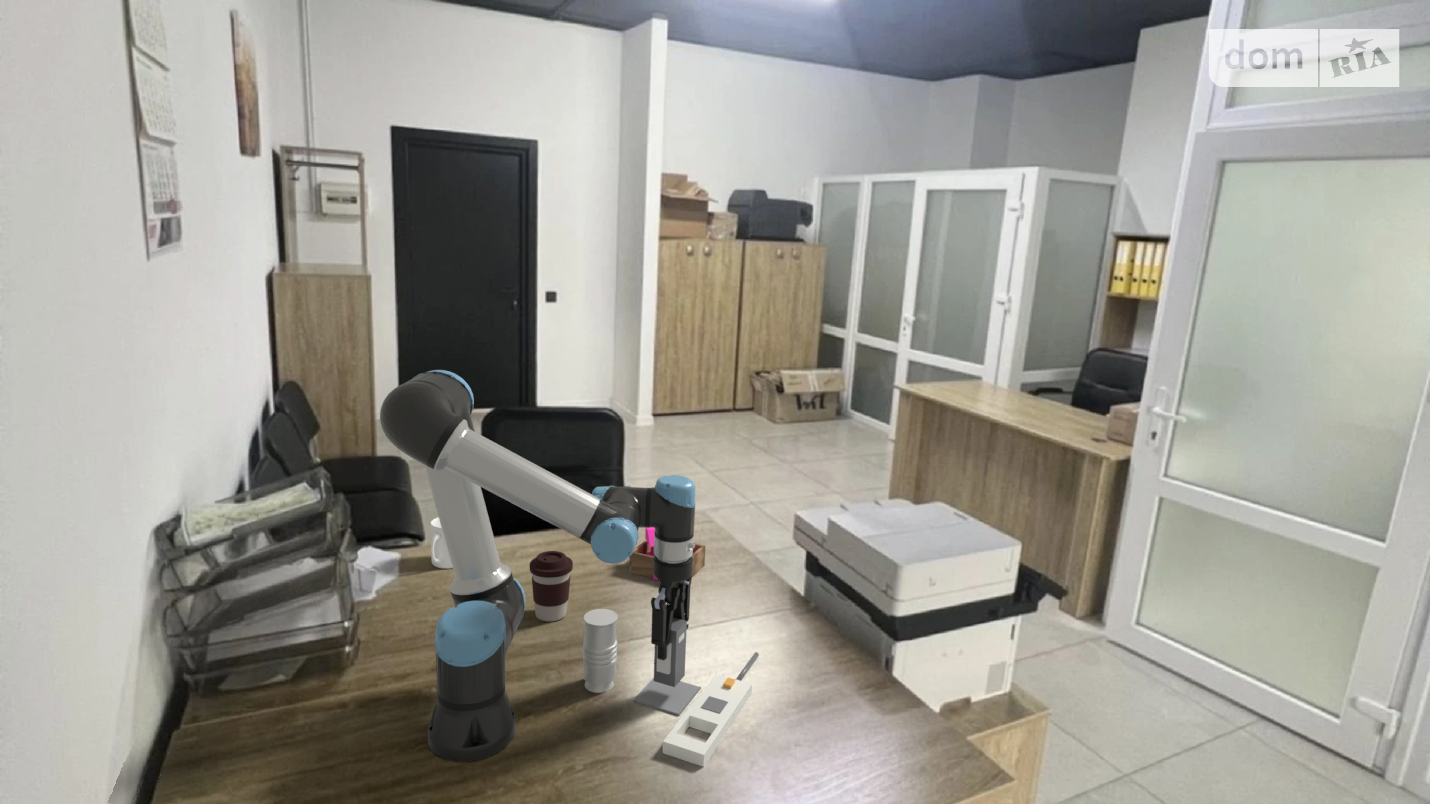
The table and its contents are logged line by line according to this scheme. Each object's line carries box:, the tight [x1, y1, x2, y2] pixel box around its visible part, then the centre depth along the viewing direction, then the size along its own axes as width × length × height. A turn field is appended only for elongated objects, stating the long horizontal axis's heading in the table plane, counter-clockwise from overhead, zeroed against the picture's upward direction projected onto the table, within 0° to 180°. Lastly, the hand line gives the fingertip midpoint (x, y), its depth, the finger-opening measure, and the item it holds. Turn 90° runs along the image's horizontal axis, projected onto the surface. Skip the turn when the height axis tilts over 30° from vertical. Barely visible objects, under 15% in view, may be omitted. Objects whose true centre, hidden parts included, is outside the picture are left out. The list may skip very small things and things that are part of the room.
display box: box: [628, 540, 706, 580], centre depth 209 cm, size 14×16×6 cm
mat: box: [633, 677, 701, 717], centre depth 153 cm, size 10×10×1 cm
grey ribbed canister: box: [582, 608, 619, 694], centre depth 154 cm, size 7×7×15 cm
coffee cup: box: [529, 550, 574, 623], centre depth 181 cm, size 10×10×15 cm
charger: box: [653, 618, 688, 687], centre depth 151 cm, size 5×5×12 cm
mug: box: [429, 517, 453, 570], centre depth 205 cm, size 10×12×12 cm
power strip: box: [662, 651, 760, 768], centre depth 152 cm, size 38×8×3 cm, turn 157°
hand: (669, 664), depth 152 cm, fingers closed on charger, 5 cm apart
